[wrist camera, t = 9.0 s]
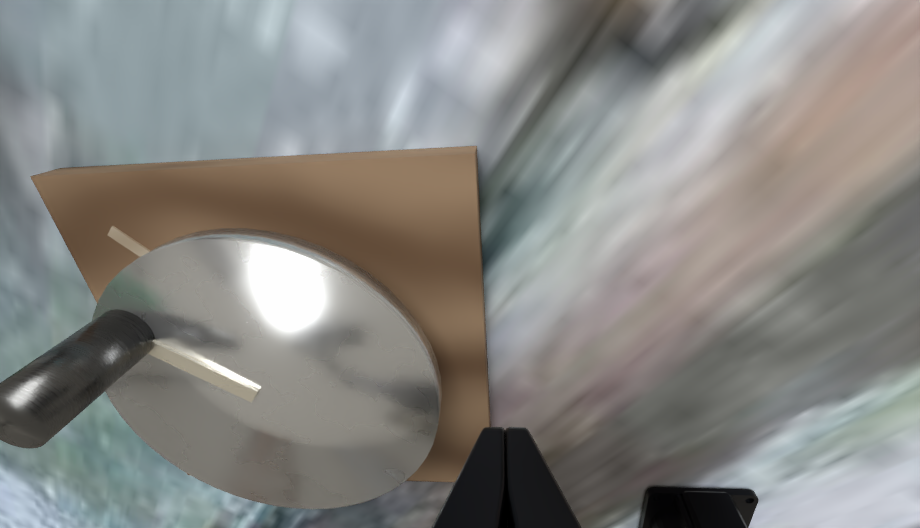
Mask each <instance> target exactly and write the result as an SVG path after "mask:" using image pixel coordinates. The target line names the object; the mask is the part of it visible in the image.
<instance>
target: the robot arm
mask: <svg viewBox="0 0 920 528" xmlns="http://www.w3.org/2000/svg"><path fill="white" fill-rule="evenodd" d="M505 442H506V444H505ZM757 503H758V498H757V496H756V494H755V492H754V491H752V490H747V489H709V488H671V487H652V488H650V489H648V490H647V492H646V497H645V502H644V507H643V513H642V518H641V523H640V528H748V527H749V524H750V521H751V519H752V516H753V514H754V511H755V508H756V506H757ZM507 522H508V526H507ZM432 528H581V526H580V524H579V522H578V520H577V519H576V517H575V515H574V513H573V511H572V509H571V508H570V506H569V504H568V502H567V500H566V498H565V496H564V495H563V493H562V491H561V489H560V487H559V485H558V484H557V482H556V480H555V478H554V476H553V474H552V473H551V471H550V469H549V467H548V465H547V463H546V461H545V460H544V458H543V456H542V454H541V452H540V450H539V449H538V447H537V445H536V443H535V441H534V439H533V438H532V436H531V434H530V432H529V431H528V429H526V428H518V427H509V428H507V429H506V431H505V430H504V428H502V427H485V428H483V429H482V431H481V433H480V435H479V436H478V438H477V440H476V442H475V444H474V446H473V448H472V450H471V452H470V454H469V456H468V458H467V460H466V462H465V464H464V466H463V468H462V470H461V472H460V474H459V475H458V477H457V479H456V481H455V483H454V485H453V487H452V489H451V491H450V493H449V495H448V497H447V499H446V501H445V503H444V505H443V507H442V509H441V511H440V513H439V514H438V516H437V518H436V520H435V522H434V524H433V526H432Z"/></svg>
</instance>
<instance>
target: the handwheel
mask: <svg viewBox="0 0 920 528" xmlns="http://www.w3.org/2000/svg"><path fill="white" fill-rule="evenodd" d="M105 391H106V393H107V395H108V397H109V399H110V401H111V402H112V404H113V405H114V407H115V408H116V410H117V411H118V412H119V414H120V415H121V417H122V418H123V419H124V420H125V421H126V423H127V424H128V425H129V426H130V427H131V428H132V430H133V431H134V432H135V433H136V434H137V435H138V436H139V437H140V438H141V439H142V440H143V441H144V442H146V443H147V444H148V445H149V446H150V447H151V448H152V449H154V450H155V451H156V452H157V453H159V454H160V455H161V456H162V457H164V458H165V459H166V460H168V461H169V462H171V463H172V464H174V465H175V466H177V467H178V468H179V469H181V470H183V471H184V472H186V473H188V474H190V475H191V476H193V477H195V478H197V479H198V480H200V481H203V482H205V483H207V484H209V485H211V486H213V487H215V488H217V489H220V490H223V491H225V492H228V493H230V494H233V495H236V496H239V497H242V498H245V499H249V500H252V501H256V502H260V503H265V504H269V505H274V506H281V507H289V508H301V509H329V508H337V507H345V506H350V505H354V504H359V503H363V502H366V501H369V500H371V499H374V498H377V497H380V496H382V495H384V494H386V493H388V492H390V491H391V490H393V489H395V488H396V487H398V486H399V485H401V484H402V483H403V482H405V481H406V480H407V479H408V478H409V477H410V476H412V475H413V474H414V473H415V472H416V471H417V470H418V468H419V467H420V466H421V464H422V463H423V462H424V460H425V459H426V457H427V455H428V453H429V451H430V449H431V447H432V445H433V443H434V439H435V436H436V432H437V428H438V422H439V416H440V409H441V399H442V386H441V376H440V371H439V367H438V363H437V359H436V357H435V354H434V352H433V349H432V347H431V344H430V342H429V340H428V338H427V337H426V335H425V333H424V331H423V330H422V328H421V326H420V325H419V323H418V322H417V320H416V319H415V318H414V316H413V315H412V314H411V313H410V311H409V310H408V309H407V307H406V306H405V305H404V304H403V303H402V302H401V301H400V300H399V299H398V298H397V297H396V296H395V295H394V294H393V293H392V292H391V291H390V290H389V289H388V288H387V287H386V286H385V285H383V284H382V283H381V282H380V281H378V280H377V279H376V278H375V277H373V276H372V275H371V274H370V273H368V272H367V271H365V270H364V269H362V268H361V267H359V266H358V265H356V264H354V263H353V262H351V261H350V260H348V259H346V258H345V257H342V256H340V255H338V254H336V253H334V252H332V251H330V250H328V249H326V248H324V247H322V246H319V245H316V244H314V243H311V242H308V241H305V240H303V239H300V238H297V237H293V236H289V235H285V234H280V233H276V232H272V231H265V230H256V229H248V228H220V229H213V230H205V231H198V232H195V233H191V234H188V235H184V236H181V237H177V238H175V239H173V240H171V241H169V242H167V243H165V244H163V245H160V246H158V247H157V248H155V249H153V250H152V251H150V252H148V253H146V254H145V255H143V256H141V257H140V258H138V259H136V260H135V261H134V262H132V263H131V264H129V265H128V266H127V267H125V268H124V269H122V270H121V271H120V272H119V273H118V274H117V275H116V276H115V277H114V278H113V280H112V281H111V282H110V283H109V284H108V285H107V287H106V288H105V290H104V292H103V293H102V295H101V297H100V298H99V300H98V303H97V306H96V309H95V312H94V315H93V320H92V322H90V323H89V324H87V325H86V326H84V327H83V328H81V329H80V330H78V331H77V332H75V333H74V334H72V335H71V336H69V337H68V338H67V339H65V340H64V341H62V342H61V343H59V344H58V345H56V346H55V347H53V348H52V349H50V350H49V351H47V352H46V353H44V354H43V355H41V356H40V357H38V358H37V359H35V360H34V361H32V362H31V363H29V364H28V365H27V366H25V367H24V368H22V369H21V370H19V371H18V372H16V373H15V374H13V375H12V376H10V377H9V378H7V379H6V380H4V381H3V382H1V383H0V440H2V441H4V442H6V443H8V444H11V445H14V446H17V447H22V448H38V447H41V446H43V445H44V444H45V443H46V442H47V441H49V440H50V439H51V438H52V437H53V436H54V435H55V434H57V433H58V432H59V431H60V430H61V429H62V428H63V427H65V426H66V425H67V424H68V423H69V422H70V421H71V420H73V419H74V418H75V417H76V416H77V415H78V414H79V413H81V412H82V411H83V410H84V409H85V408H86V407H87V406H89V405H90V404H91V403H92V402H93V401H94V400H95V399H97V398H98V397H99V396H100V395H101V394H102V393H103V392H105Z"/></svg>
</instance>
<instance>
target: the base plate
mask: <svg viewBox="0 0 920 528" xmlns="http://www.w3.org/2000/svg"><path fill="white" fill-rule="evenodd" d="M30 177H31V179H32V180H33V182H34V184H35V186H36V188H37V190H38V192H39V194H40V196H41V198H42V199H43V201H44V203H45V205H46V207H47V209H48V211H49V213H50V215H51V216H52V218H53V220H54V222H55V224H56V226H57V228H58V230H59V232H60V234H61V235H62V237H63V239H64V241H65V243H66V245H67V247H68V249H69V251H70V252H71V254H72V256H73V258H74V260H75V262H76V264H77V266H78V268H79V270H80V271H81V273H82V275H83V277H84V279H85V281H86V283H87V285H88V287H89V288H90V290H91V292H92V294H93V296H94V298H95V300H96V302H97V303H98V300H99V298H100V297H101V295H102V293H103V292H104V290H105V288H106V287H107V285H108V284H109V283H110V282H111V281H112V280H113V278H114V277H115V276H116V275H117V274H118V273H119V272H120V271H121V270H122V269H124V268H125V267H127V266H128V265H129V264H131V263H132V262H134V261H135V260H136V259H138V258H140V257H141V256H143V255H145V254H146V253H148V252H150V251H152V250H153V249H155V248H157V247H158V246H160V245H163V244H165V243H167V242H169V241H171V240H173V239H175V238H177V237H181V236H184V235H188V234H191V233H195V232H198V231H205V230H213V229H220V228H248V229H256V230H265V231H272V232H276V233H280V234H285V235H289V236H293V237H297V238H300V239H303V240H305V241H308V242H311V243H314V244H316V245H319V246H322V247H324V248H326V249H328V250H330V251H332V252H334V253H336V254H338V255H340V256H342V257H345V258H346V259H348V260H350V261H351V262H353V263H354V264H356V265H358V266H359V267H361V268H362V269H364V270H365V271H367V272H368V273H370V274H371V275H372V276H373V277H375V278H376V279H377V280H378V281H380V282H381V283H382V284H383V285H385V286H386V287H387V288H388V289H389V290H390V291H391V292H392V293H393V294H394V295H395V296H396V297H397V298H398V299H399V300H400V301H401V302H402V303H403V304H404V305H405V306H406V307H407V309H408V310H409V311H410V313H411V314H412V315H413V316H414V318H415V319H416V320H417V322H418V323H419V325H420V326H421V328H422V330H423V331H424V333H425V335H426V337H427V338H428V340H429V342H430V344H431V347H432V349H433V352H434V354H435V357H436V359H437V363H438V367H439V371H440V376H441V386H442V399H441V409H440V416H439V422H438V428H437V432H436V436H435V439H434V443H433V445H432V447H431V449H430V451H429V453H428V455H427V457H426V459H425V460H424V462H423V463H422V464H421V466H420V467H419V468H418V470H417V471H416V472H415V473H414V474H413V475H412V476H410V477H409V478H408V479H407V480H406V481H430V482H455V481H456V479H457V477H458V475H459V474H460V472H461V470H462V468H463V466H464V464H465V462H466V460H467V458H468V456H469V454H470V452H471V450H472V448H473V446H474V444H475V442H476V440H477V438H478V436H479V435H480V433H481V431H482V429H483V428H485V427H491V423H490V403H489V383H488V363H487V343H486V323H485V303H484V283H483V263H482V243H481V223H480V203H479V183H478V163H477V146H465V147H447V148H428V149H409V150H390V151H372V152H353V153H334V154H316V155H297V156H278V157H259V158H241V159H222V160H203V161H184V162H166V163H147V164H128V165H110V166H91V167H72V168H59V169H56V170H52V171H49V172H45V173H41V174H38V175H34V176H30ZM187 474H188V473H187ZM188 475H190V474H188Z"/></svg>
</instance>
